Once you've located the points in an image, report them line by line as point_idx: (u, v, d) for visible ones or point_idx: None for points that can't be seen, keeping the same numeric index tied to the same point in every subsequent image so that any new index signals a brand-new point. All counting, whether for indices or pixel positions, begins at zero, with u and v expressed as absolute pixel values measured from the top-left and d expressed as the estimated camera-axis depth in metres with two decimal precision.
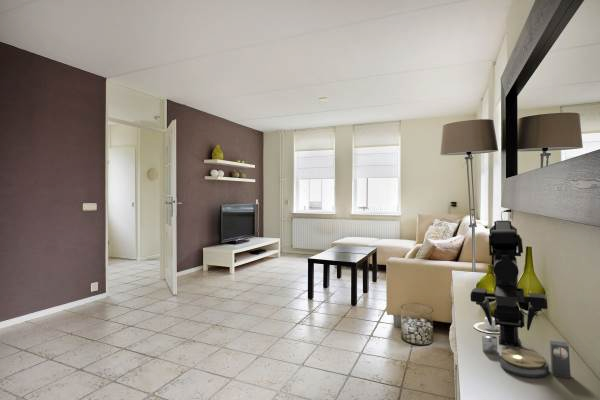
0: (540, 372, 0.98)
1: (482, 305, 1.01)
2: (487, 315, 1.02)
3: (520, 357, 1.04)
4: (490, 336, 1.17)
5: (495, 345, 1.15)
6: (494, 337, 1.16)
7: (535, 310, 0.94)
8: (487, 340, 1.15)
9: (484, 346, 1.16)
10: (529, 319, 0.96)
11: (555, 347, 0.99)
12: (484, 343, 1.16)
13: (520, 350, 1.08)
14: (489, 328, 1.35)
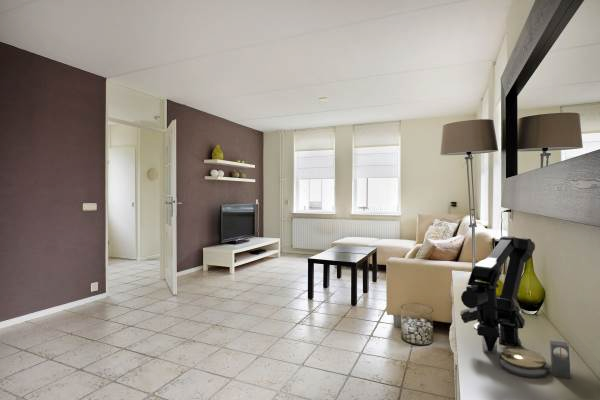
0: (540, 372, 0.98)
1: None
2: None
3: (520, 357, 1.04)
4: None
5: (495, 345, 1.15)
6: None
7: None
8: None
9: (484, 346, 1.16)
10: (485, 340, 1.15)
11: (555, 347, 0.99)
12: (484, 343, 1.16)
13: (520, 350, 1.08)
14: None
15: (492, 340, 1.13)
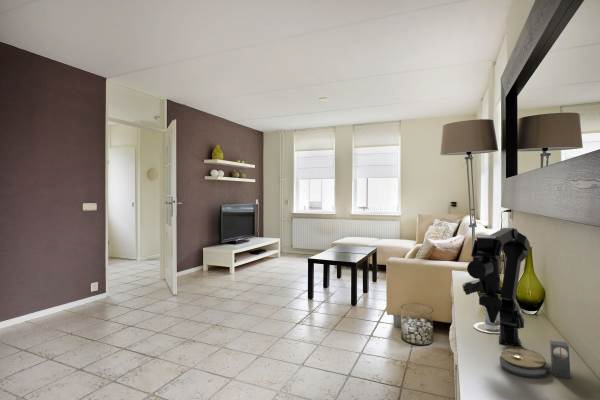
0: (540, 372, 0.98)
1: None
2: None
3: (520, 357, 1.04)
4: None
5: (498, 316, 1.13)
6: None
7: None
8: None
9: (486, 318, 1.14)
10: None
11: (555, 347, 0.99)
12: (486, 315, 1.14)
13: (520, 350, 1.08)
14: (489, 328, 1.35)
15: (494, 311, 1.11)
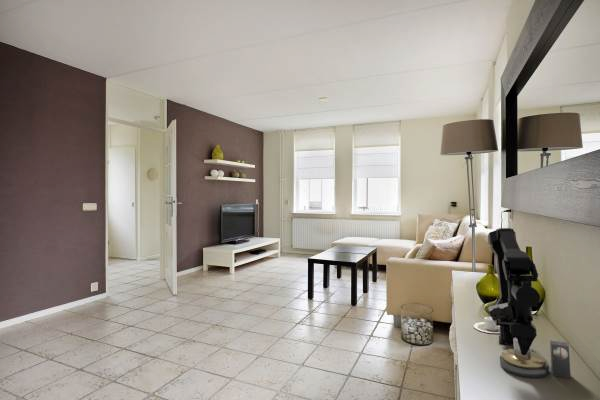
0: (540, 372, 0.98)
1: None
2: None
3: None
4: None
5: (529, 349, 1.03)
6: None
7: None
8: None
9: (516, 351, 1.04)
10: (518, 343, 1.01)
11: (555, 347, 0.99)
12: (516, 347, 1.04)
13: None
14: (489, 328, 1.35)
15: (527, 342, 0.99)
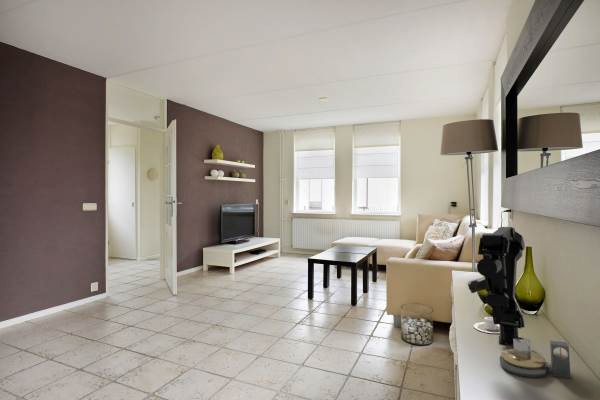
0: (540, 372, 0.98)
1: None
2: None
3: None
4: (523, 339, 1.05)
5: (529, 349, 1.03)
6: (527, 340, 1.04)
7: (487, 303, 1.09)
8: (520, 344, 1.03)
9: (516, 351, 1.04)
10: (493, 312, 1.10)
11: (555, 347, 0.99)
12: (516, 347, 1.04)
13: None
14: (489, 328, 1.35)
15: (501, 311, 1.08)
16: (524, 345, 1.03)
